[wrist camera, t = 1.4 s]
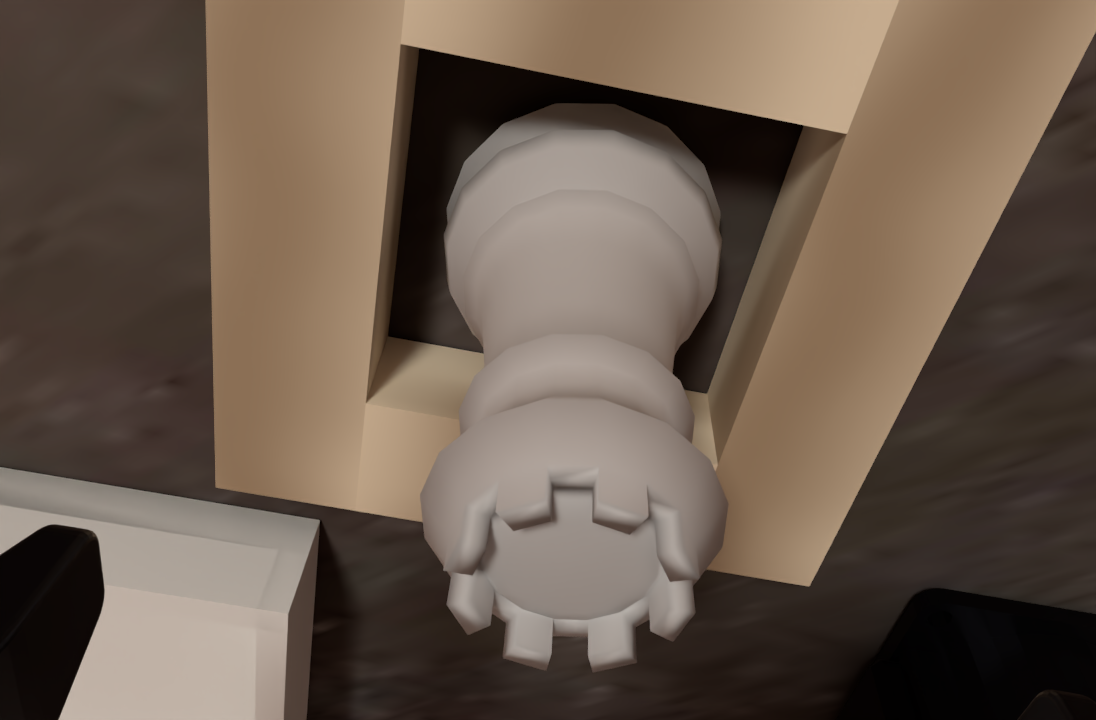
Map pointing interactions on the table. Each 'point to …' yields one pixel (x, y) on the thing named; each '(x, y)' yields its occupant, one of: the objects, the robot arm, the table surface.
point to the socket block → (653, 68)
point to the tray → (182, 601)
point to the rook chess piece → (578, 385)
